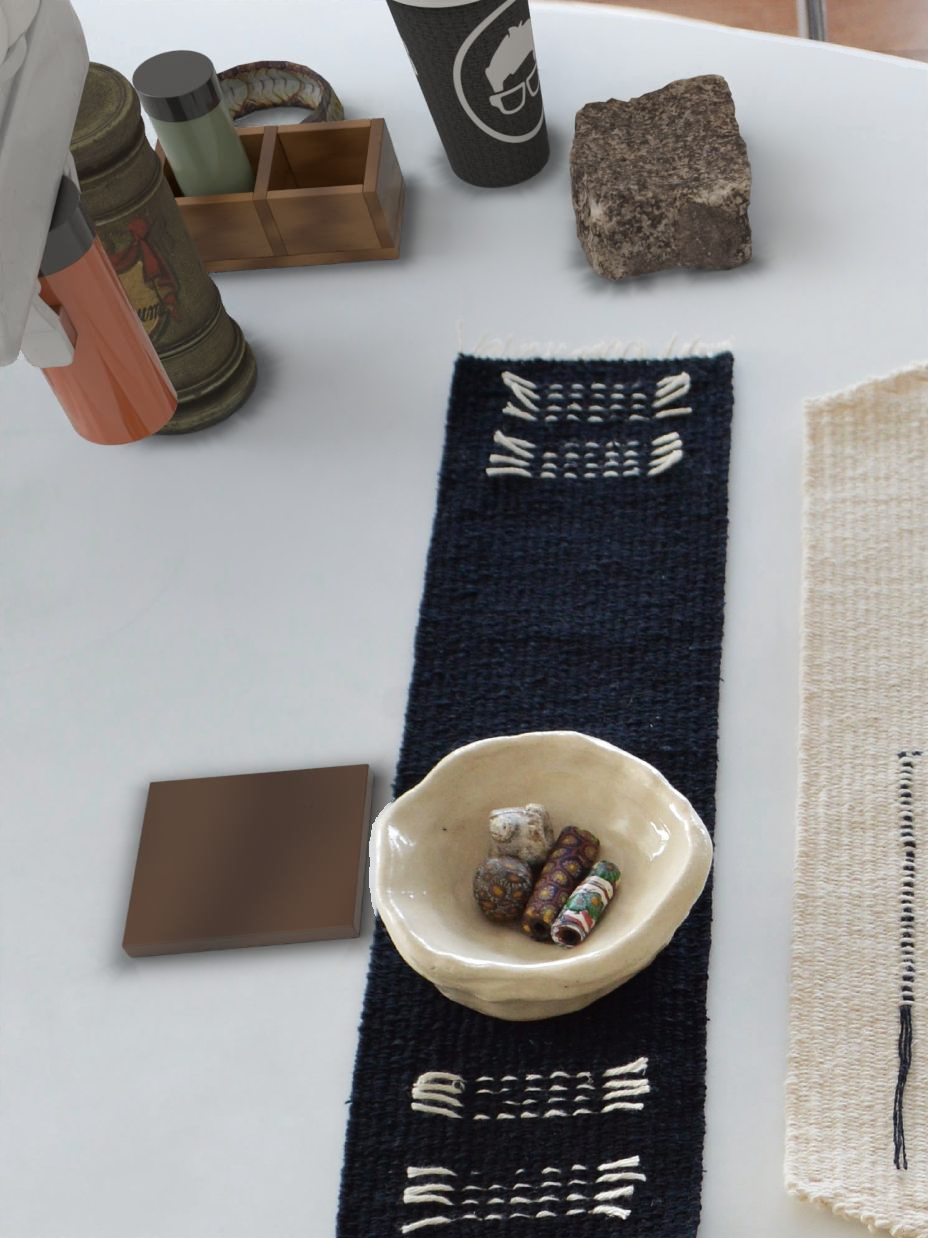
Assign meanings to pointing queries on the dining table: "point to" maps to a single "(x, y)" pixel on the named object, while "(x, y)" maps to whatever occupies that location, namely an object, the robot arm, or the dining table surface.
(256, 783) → the board
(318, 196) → the spice rack
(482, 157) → the coffee cup
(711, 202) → the stone
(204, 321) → the container
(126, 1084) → the dining table surface
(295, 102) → the decorative ring
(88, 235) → the spice jar
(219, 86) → the jar
